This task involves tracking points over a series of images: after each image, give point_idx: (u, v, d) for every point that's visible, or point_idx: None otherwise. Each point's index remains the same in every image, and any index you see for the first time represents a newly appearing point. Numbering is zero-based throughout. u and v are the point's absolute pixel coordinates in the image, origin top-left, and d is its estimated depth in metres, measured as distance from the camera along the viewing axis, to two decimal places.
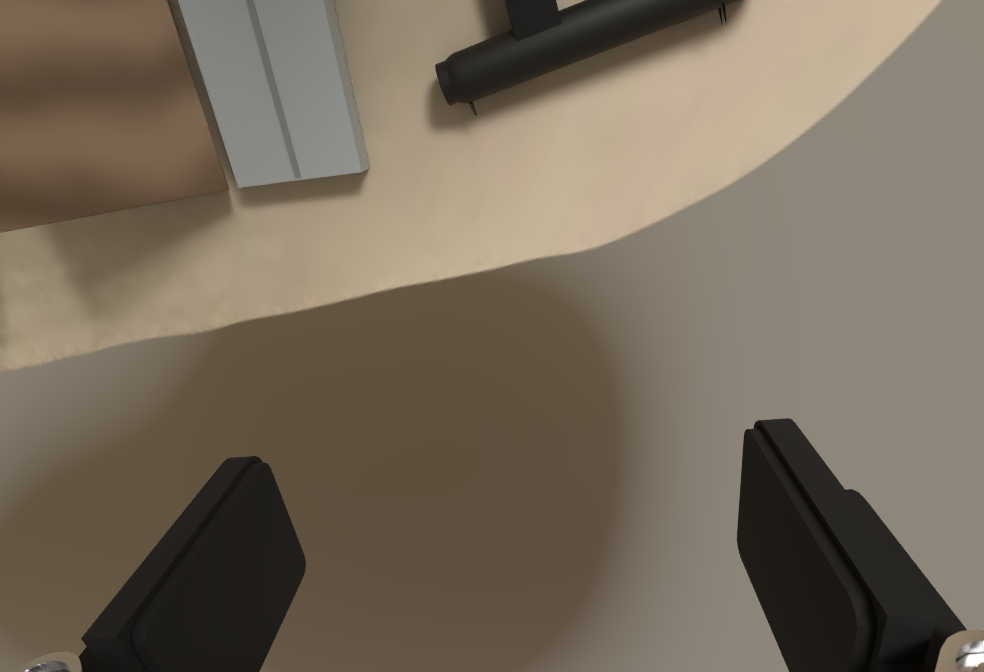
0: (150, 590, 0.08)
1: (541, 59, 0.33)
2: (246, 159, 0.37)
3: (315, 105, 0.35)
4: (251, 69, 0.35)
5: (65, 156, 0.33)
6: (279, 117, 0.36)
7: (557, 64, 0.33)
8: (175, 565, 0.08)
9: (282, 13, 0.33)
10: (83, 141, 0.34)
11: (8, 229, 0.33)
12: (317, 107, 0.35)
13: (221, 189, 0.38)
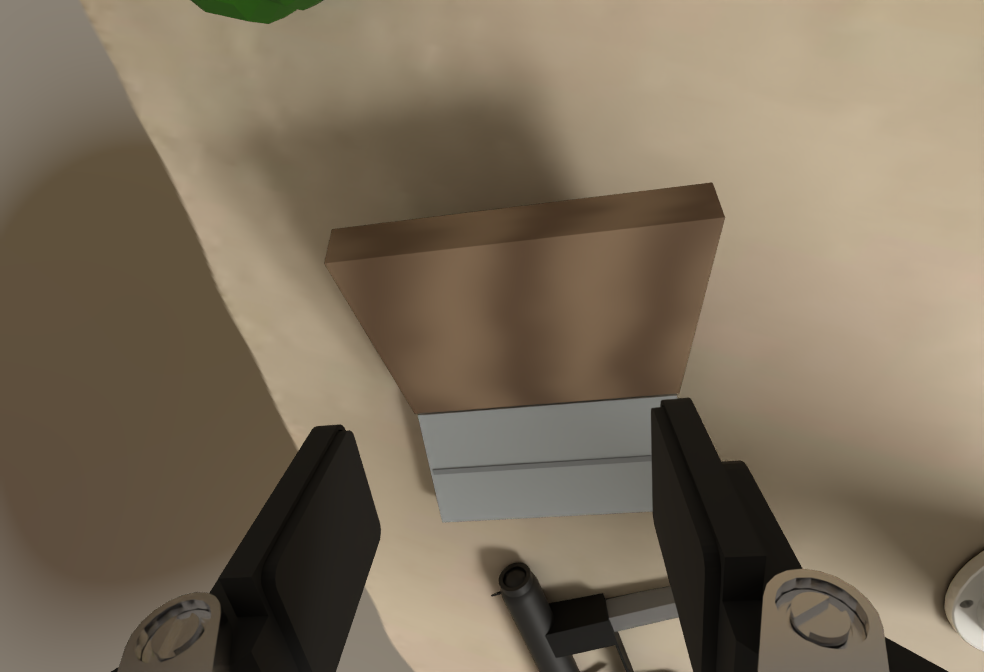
0: (273, 538, 0.08)
1: (532, 647, 0.42)
2: (448, 429, 0.35)
3: (501, 496, 0.37)
4: (534, 450, 0.35)
5: (441, 332, 0.27)
6: (490, 466, 0.36)
7: None
8: (289, 517, 0.09)
9: (579, 484, 0.36)
10: (459, 345, 0.28)
11: (338, 283, 0.24)
12: (500, 497, 0.37)
13: (414, 410, 0.34)
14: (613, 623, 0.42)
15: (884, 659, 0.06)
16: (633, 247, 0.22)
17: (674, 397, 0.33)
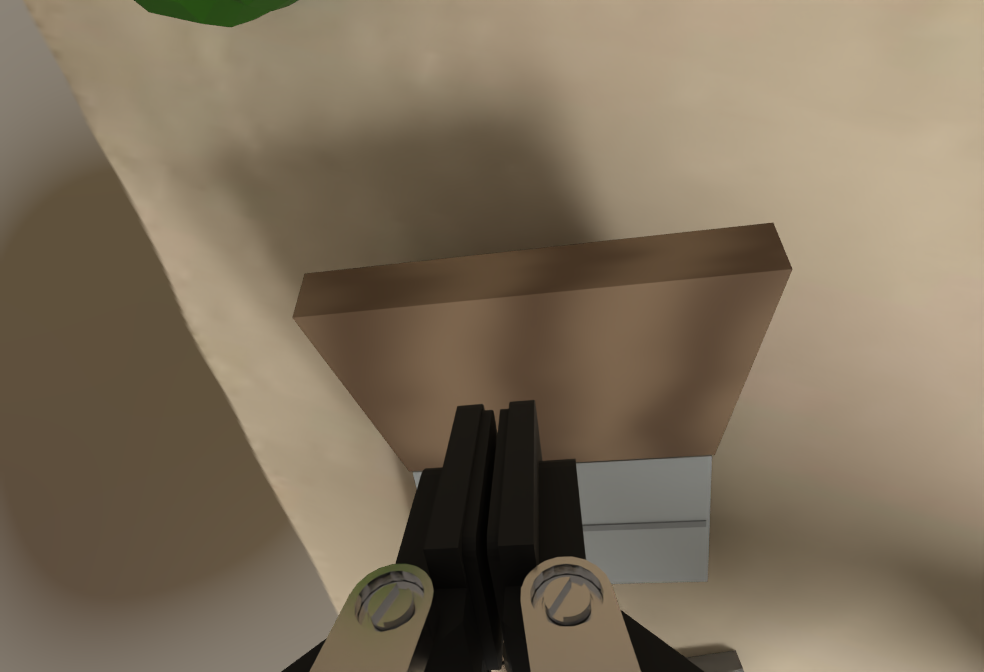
0: (464, 510, 0.08)
1: None
2: None
3: None
4: None
5: (437, 391, 0.23)
6: None
7: None
8: (469, 492, 0.09)
9: (597, 550, 0.32)
10: (459, 404, 0.23)
11: (311, 339, 0.20)
12: None
13: (409, 467, 0.29)
14: None
15: (619, 613, 0.07)
16: (673, 302, 0.18)
17: (708, 458, 0.28)
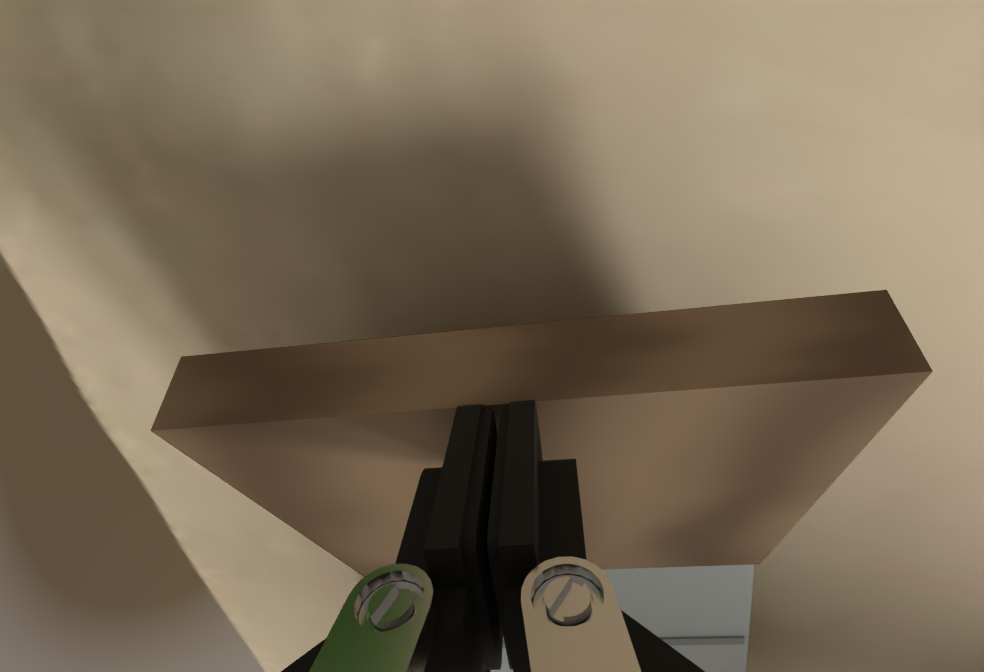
0: (463, 511, 0.08)
1: None
2: None
3: None
4: None
5: (387, 508, 0.16)
6: None
7: None
8: (469, 492, 0.09)
9: None
10: None
11: (188, 454, 0.13)
12: None
13: (364, 574, 0.23)
14: None
15: (619, 613, 0.07)
16: (732, 412, 0.11)
17: (750, 565, 0.22)
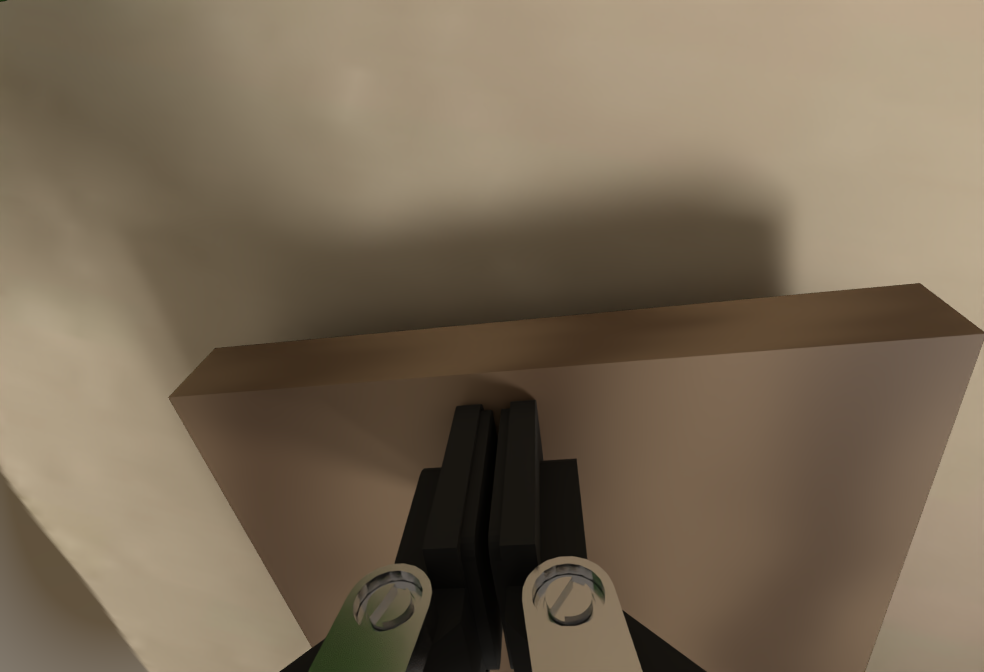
0: (463, 511, 0.08)
1: None
2: None
3: None
4: None
5: (391, 559, 0.14)
6: None
7: None
8: (468, 492, 0.09)
9: None
10: None
11: (196, 441, 0.13)
12: None
13: None
14: None
15: (621, 613, 0.07)
16: (775, 397, 0.11)
17: None
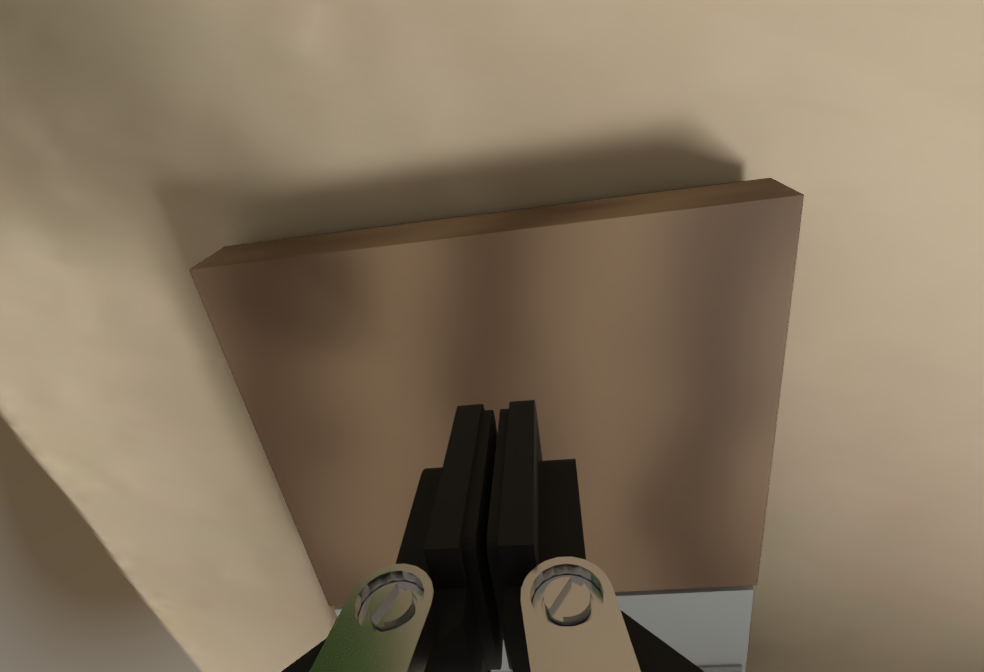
0: (463, 511, 0.08)
1: None
2: None
3: None
4: None
5: (368, 426, 0.17)
6: None
7: None
8: (469, 492, 0.09)
9: None
10: (397, 454, 0.18)
11: (209, 311, 0.15)
12: None
13: (329, 597, 0.21)
14: None
15: (619, 613, 0.07)
16: (662, 254, 0.14)
17: (749, 592, 0.20)
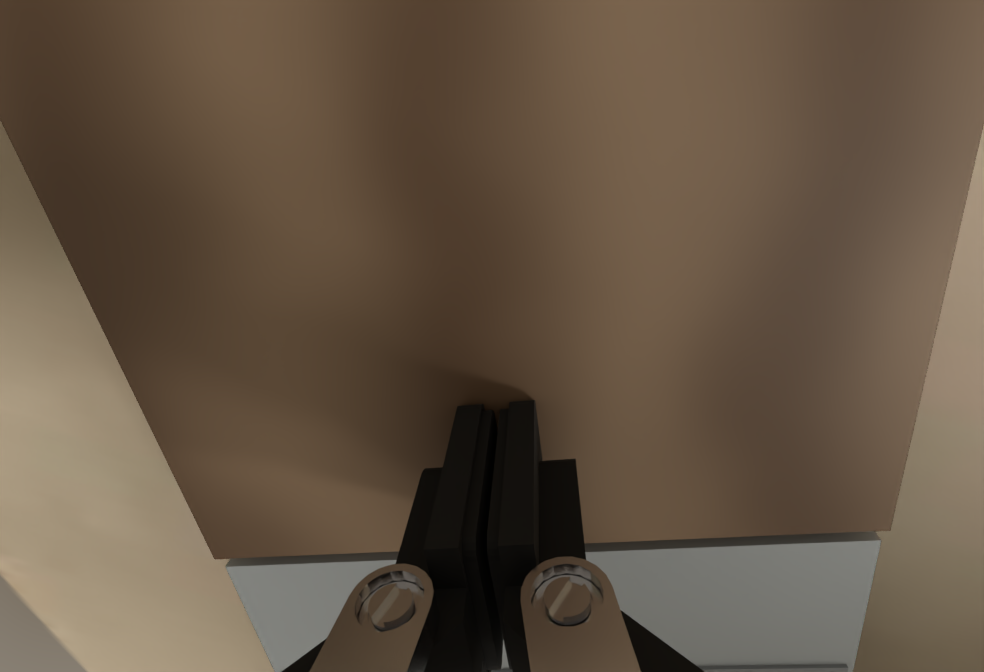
0: (464, 511, 0.08)
1: None
2: (302, 597, 0.15)
3: None
4: None
5: (238, 222, 0.10)
6: None
7: None
8: (469, 492, 0.09)
9: None
10: (292, 279, 0.10)
11: None
12: None
13: (212, 545, 0.14)
14: None
15: (618, 613, 0.07)
16: None
17: (873, 544, 0.12)
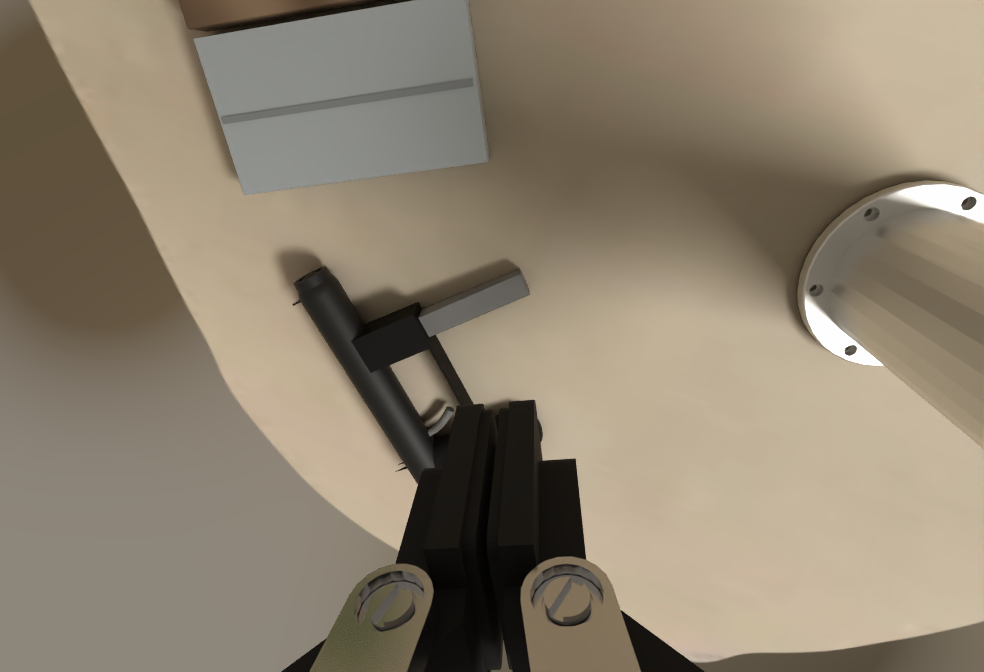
0: (464, 510, 0.08)
1: (342, 361, 0.39)
2: (228, 57, 0.32)
3: (300, 152, 0.34)
4: (324, 83, 0.32)
5: None
6: (282, 109, 0.33)
7: (344, 369, 0.40)
8: (469, 492, 0.09)
9: (379, 130, 0.33)
10: None
11: None
12: (298, 154, 0.34)
13: (186, 19, 0.31)
14: (424, 325, 0.39)
15: (619, 613, 0.07)
16: None
17: None
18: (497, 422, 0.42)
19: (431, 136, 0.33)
